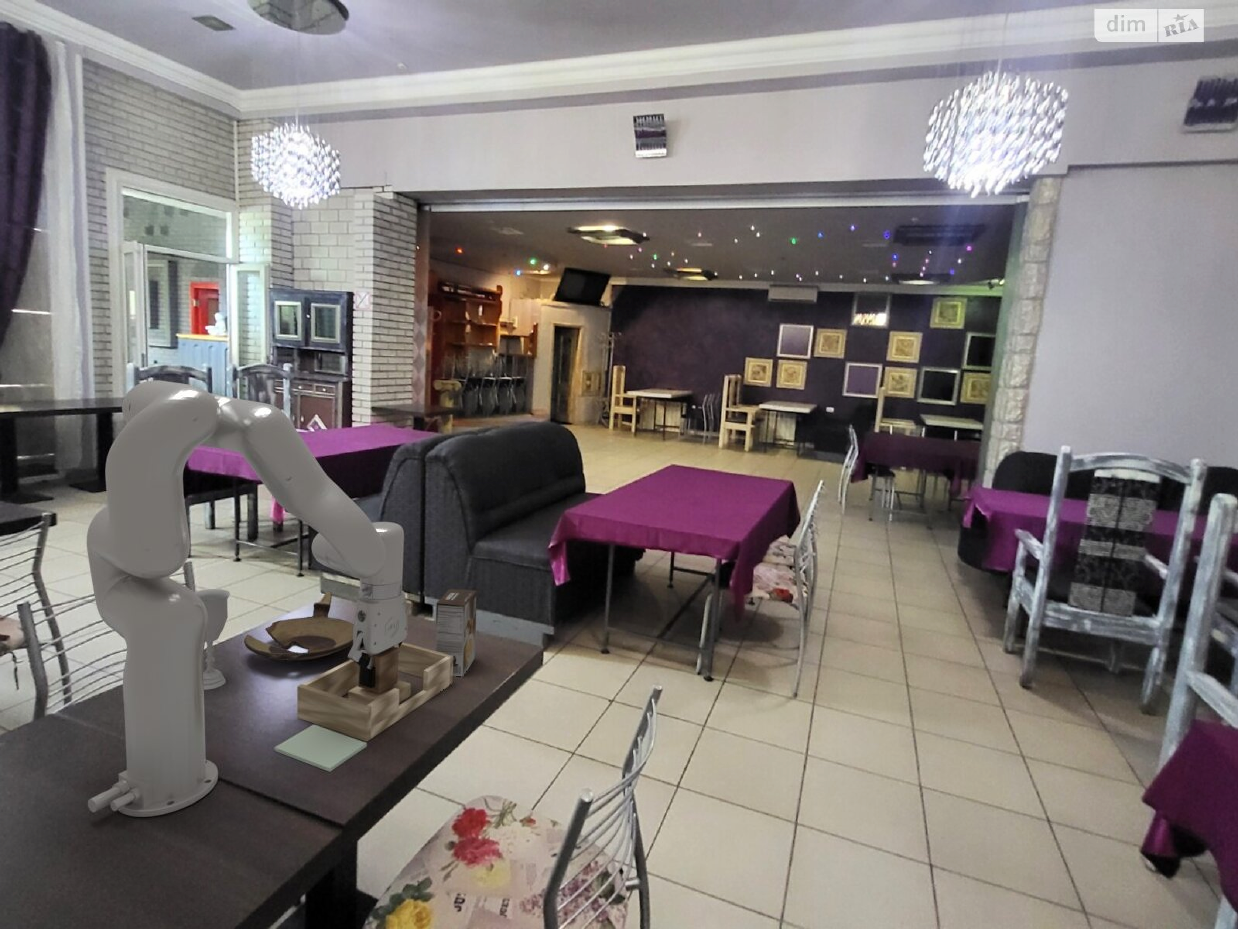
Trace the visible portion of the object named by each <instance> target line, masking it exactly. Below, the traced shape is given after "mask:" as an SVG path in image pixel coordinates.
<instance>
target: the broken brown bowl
mask: <svg viewBox="0 0 1238 929" xmlns="http://www.w3.org/2000/svg"><path fill="white" fill-rule="evenodd" d="M332 598H333V594H332V592H331V591H327V592H325V593H324V595H323V597H322V598H321V600H319V601H318V602H314V603H313V612H312V616H306V617H295V618H290V619H289V618H288V619H287V618H286V619H283V620H277V621H274V622H272V624H271V625H269V626H268V627H267V626H266V628H265V631H266V633H267V634H268V636H270V637H271V639H272V640H273V641H274V642H275V643H276V644H277V645H278V646H279V647H278V646H276V645H272V644H269V643H266V642H264V641H261V640H259V639H257V638H256V637H253V636H252V635H249V634H246V636H245V637H244V640H243V643H244V645H245V647H246V649H247V650H248V651H250V652H252V653H254V654H256V655H258V656H261V657H264V658H270V659H272V660H282V661H298V662H299V661H308V660H315V659H318V658H323V657H326V656H329V655H331V654H334V653H336V652H339V651H341V650H344V649H345V648H347V647H349V646H352V645H353V629H354V623H352V622H349V621H347V620H344V619H341V618H335V617H329V613H330V610H331V606H332ZM293 644H296V645H297V646H298V647H301V648H303V649H307V652H297V651H292V650H289V649H288V648H290V647H292V646H293Z"/></svg>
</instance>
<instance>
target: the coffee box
mask: <svg viewBox="0 0 1238 929" xmlns="http://www.w3.org/2000/svg"><path fill="white" fill-rule="evenodd" d="M477 595H478V590H474V589H473V590H471V589H470V590H469V589H458V588H457V589H454V588H449V589H448V590H447V591H446V592H445V593H444V594H443V596H442V597H441V598H439V600H438V601H437V602H436V606H435V607H436V610H435V611H436V613H435V614H436V616H435V649H434V651H437V652H440V653H444V654H448V655H451V656H453V677H456V676H461V677H460V678H463V677H464V676H465V675H466V673H467V672H468V670H469V669H470V667H471V665H472V663H473V662H474V660H475V659H476V656H475V655H476V632H477V631H476V630H477V629H476V628H477V625H476V624H477V599H478V597H477ZM466 671H467V672H466ZM464 674H465V675H464ZM462 676H463V677H462Z"/></svg>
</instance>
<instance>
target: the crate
mask: <svg viewBox="0 0 1238 929" xmlns="http://www.w3.org/2000/svg"><path fill="white" fill-rule="evenodd" d="M399 650H400V652H399V656H398V672H402V673H405V674H407V675H412V676H415V677H419V678H422V679H423V684H422V690H421V691H420V692H419V691H418V692H417V693H416V694H415V695H413V696H412V697H410V696H411V695H412V694H411V692H412V690H411V689H412V688H411V687H412V684H411V682H410V683H409V682H406V681H403V680H399V679H398V683H396V684H394V685H393V686H391V687H389V688H387V689H386V690H384V691H382V692H380V693H377V692H373V691H370V690H367V689H364V688H361V687H358V680H359V666H358V665H357V663H356V662H354V661H353V660H351V659H348V660H347V661H345V662H343V663H341V664H339V665H337V666H334V667H333V668H331V669H329V670H327V671H325V672H323V673H322V674H321V673H320V674H319V675H317V676H315V677H313V678H311V679H309V680H308V681H305V682H303V683H301V684H299V685H297V687H296V689H297V690H296V691H297V692H296V693H297V694H296V696H297V699H296V700H297V702H296V704H297V709H296V710H297V713H296V714H297V718H298V719H300V720H303V721H307V722H309V723H312V724H313V725H317V726H320V727H322V728H325V729H328V730H331V731H334V732H337V733H340V734H342V735H345V736H348V737H351V738H354V739H357V740H359V741H362V742H365V743H367V742H369V741H370V740H371V739H373V738H374V737H376V736H378V735H379V734H380V733H382V732H383V731H385V730H386V729H388V728H389V727H391V726H392V725H394V724H395V723H396V722H398V721H400V720H401V719H402V718H404V717H406V716H407V715H408V714H410V713H412V712H413V711H414V710H416V709H417V708H419V707H420V706H421V705H423V704H424V703H426V702H427V701H429V700H431V699H433V697H435V696H436V695H438V694H440V693H441V692H443V691H444V690H445V689H447V688H448V687H450V686H451V685H453V682H454V681H453V677H454V676H453V656H451V655H448V654H444V653H440V652H437V651H435V650H432V649H430V648H425V647H422V646H419V645H414V644H410V643H408V642H407V643H406V642H404V641H403V642H402V644H401V646H400V648H399ZM450 684H451V685H450ZM449 685H450V686H449ZM443 689H444V690H443ZM440 691H441V692H440ZM346 694H347V696H348V697H343V696H345V695H346ZM409 697H410V698H409ZM408 698H409V699H408ZM406 699H407V700H406ZM404 700H405V701H404ZM403 701H404V702H403ZM400 703H401V704H400Z"/></svg>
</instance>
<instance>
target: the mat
mask: <svg viewBox="0 0 1238 929" xmlns="http://www.w3.org/2000/svg"><path fill="white" fill-rule="evenodd" d="M367 747H368V743H367V742H366V741H363V740H360V739H357V738H354V737H351V736H348V735H346V734H343V733H340V732H337V731H334V730H331V729H329V728H326V727H323V726H320V725H317V724H312V725H310V726H309V727H307V728H305V729H304V730H302V731H300V732H298V733H297V734H295V735H293V736H291V737H290V738H288V739H286V740H285V741H283V742H281V743H280V744H278V745H276V746H274V748H273V749H274V751H275V752H277V753H280V754H282V755H285V756H287V757H290V758H293V759H295V760H298V761H299V762H303V763H304V764H308V765H311V766H313V767H316V768H318V769H322V770H324V771H326V772H332V771H333V770H335V769H336V768H337V767H339V766H340V765H342V764H344V763H345V762H346V761H348V760H349V759H351V758H352V757H353V756H355V755H357V754H358V753H359V752H361V751H362V750H364V749H366V748H367Z"/></svg>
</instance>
